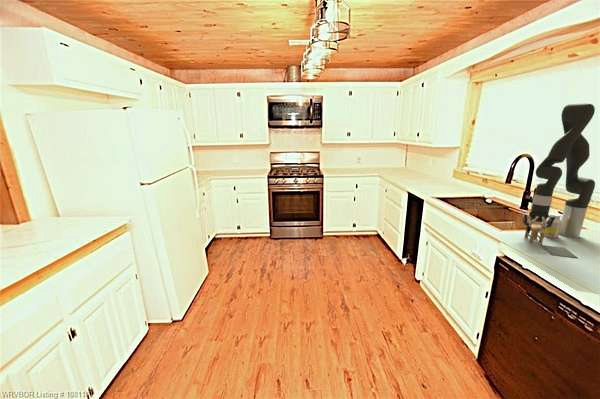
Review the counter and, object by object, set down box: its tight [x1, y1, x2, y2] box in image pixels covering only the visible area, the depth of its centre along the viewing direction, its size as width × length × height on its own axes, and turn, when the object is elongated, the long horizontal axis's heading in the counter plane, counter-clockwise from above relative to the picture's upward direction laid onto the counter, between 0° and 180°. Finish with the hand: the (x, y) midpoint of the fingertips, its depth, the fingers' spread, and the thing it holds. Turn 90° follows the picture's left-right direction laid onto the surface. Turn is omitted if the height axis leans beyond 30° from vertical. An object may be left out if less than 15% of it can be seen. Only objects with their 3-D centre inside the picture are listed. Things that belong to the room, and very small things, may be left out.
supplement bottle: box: [544, 212, 562, 239], centre depth 163 cm, size 7×7×13 cm
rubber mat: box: [540, 244, 578, 259], centre depth 145 cm, size 12×10×1 cm
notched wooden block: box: [524, 223, 545, 245], centre depth 158 cm, size 5×8×8 cm
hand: (534, 233), depth 158 cm, fingers closed on notched wooden block, 5 cm apart
